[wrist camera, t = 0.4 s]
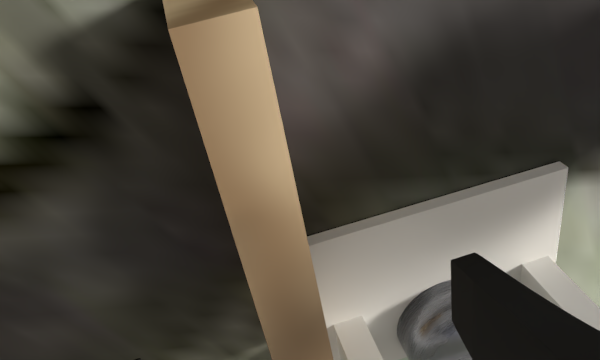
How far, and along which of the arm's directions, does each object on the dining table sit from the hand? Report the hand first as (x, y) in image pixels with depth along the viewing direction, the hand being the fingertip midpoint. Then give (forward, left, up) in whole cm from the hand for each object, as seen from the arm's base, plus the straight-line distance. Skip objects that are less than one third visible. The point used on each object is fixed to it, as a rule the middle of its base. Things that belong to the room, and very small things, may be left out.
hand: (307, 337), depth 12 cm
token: (-7, +12, -9) cm, 17 cm away
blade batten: (0, +2, -10) cm, 10 cm away
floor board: (-7, +13, -9) cm, 18 cm away
